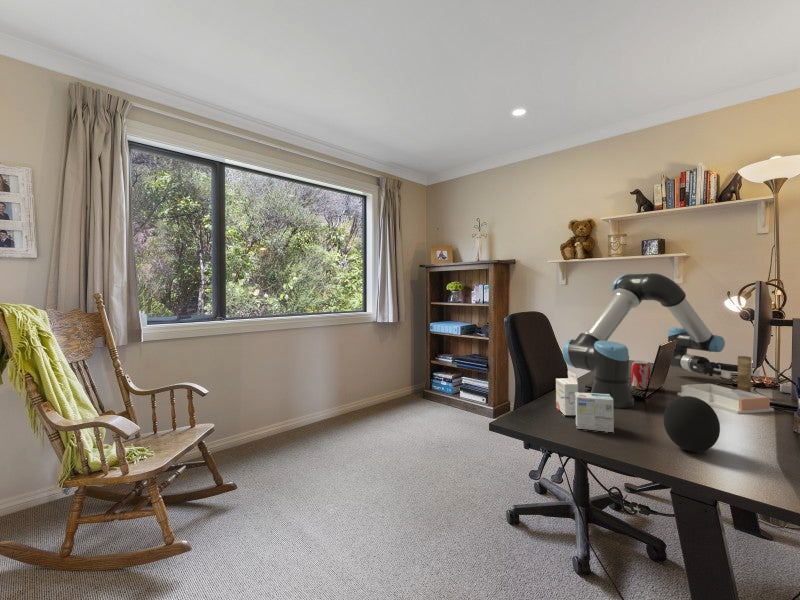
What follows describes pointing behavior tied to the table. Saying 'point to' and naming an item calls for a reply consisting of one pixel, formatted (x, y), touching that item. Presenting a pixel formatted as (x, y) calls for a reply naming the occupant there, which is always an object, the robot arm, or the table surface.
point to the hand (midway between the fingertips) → (744, 374)
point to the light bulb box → (594, 411)
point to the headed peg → (744, 374)
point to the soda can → (640, 373)
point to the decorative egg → (691, 424)
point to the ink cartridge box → (566, 394)
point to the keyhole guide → (728, 398)
